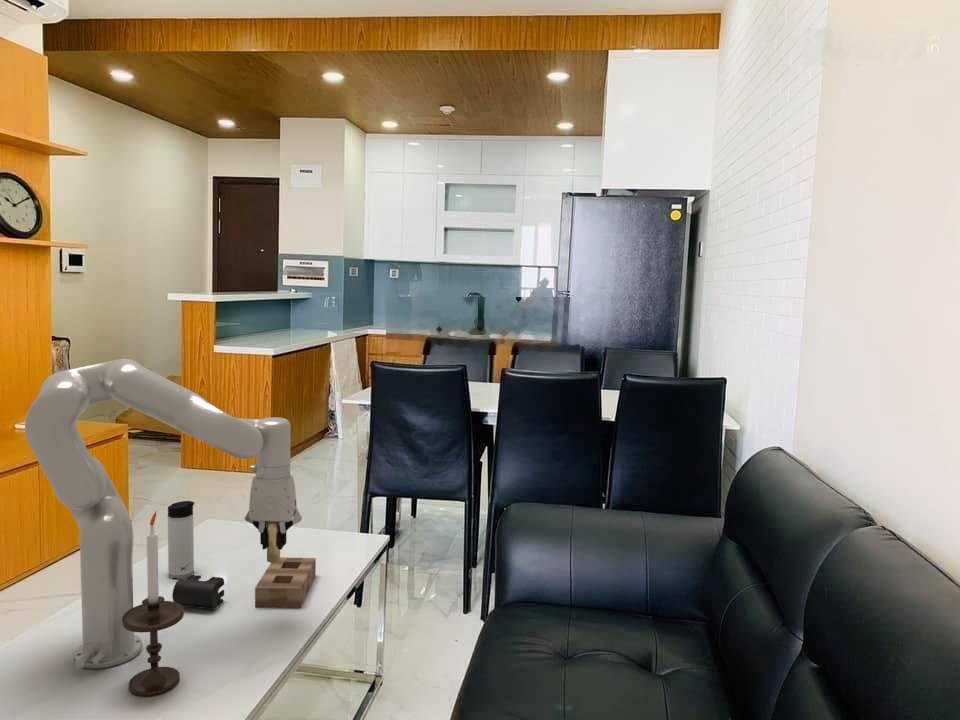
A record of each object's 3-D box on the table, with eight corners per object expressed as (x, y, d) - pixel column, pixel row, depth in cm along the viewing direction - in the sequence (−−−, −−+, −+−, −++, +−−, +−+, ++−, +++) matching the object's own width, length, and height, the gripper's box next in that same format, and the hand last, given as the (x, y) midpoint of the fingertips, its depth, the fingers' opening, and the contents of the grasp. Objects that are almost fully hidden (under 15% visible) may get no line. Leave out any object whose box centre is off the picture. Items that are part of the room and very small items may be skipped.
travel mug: (188, 579, 182) (188, 506, 180) (164, 578, 183) (163, 505, 180) (199, 570, 189) (198, 499, 187) (175, 569, 189) (174, 498, 187)
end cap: (172, 611, 165) (171, 584, 165) (188, 598, 172) (187, 572, 172) (211, 615, 164) (211, 587, 164) (226, 601, 171) (225, 575, 171)
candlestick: (193, 668, 141) (191, 502, 138) (171, 700, 130) (168, 520, 127) (139, 668, 141) (136, 501, 137) (112, 699, 130) (108, 519, 126)
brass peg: (278, 562, 161) (278, 517, 160) (265, 562, 161) (265, 516, 160) (281, 557, 164) (281, 512, 163) (268, 557, 164) (268, 512, 163)
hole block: (300, 608, 169) (300, 588, 168) (255, 607, 168) (255, 587, 168) (315, 575, 188) (315, 557, 187) (274, 575, 187) (274, 557, 187)
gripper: (232, 474, 156) (233, 553, 158) (305, 476, 157) (304, 554, 159) (243, 466, 164) (243, 541, 166) (312, 467, 164) (311, 542, 166)
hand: (273, 546), depth 162 cm, fingers closed on brass peg, 3 cm apart
